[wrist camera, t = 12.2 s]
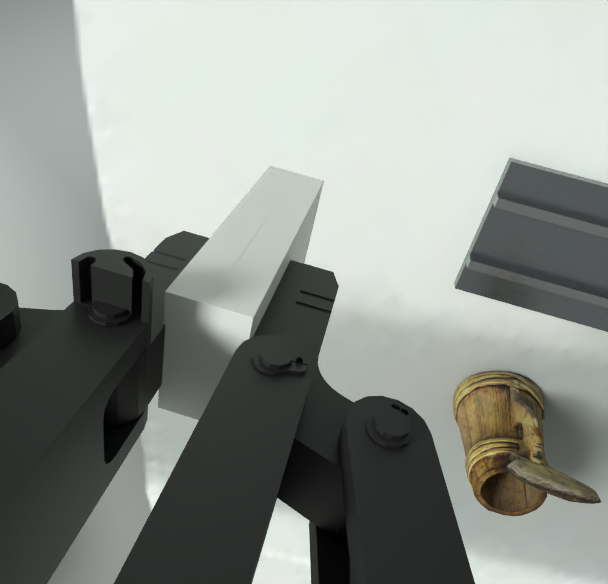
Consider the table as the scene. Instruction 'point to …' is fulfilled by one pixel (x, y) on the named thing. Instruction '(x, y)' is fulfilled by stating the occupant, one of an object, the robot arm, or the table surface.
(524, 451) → the wooden mug
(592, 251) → the dark grey base rail
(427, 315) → the table surface
